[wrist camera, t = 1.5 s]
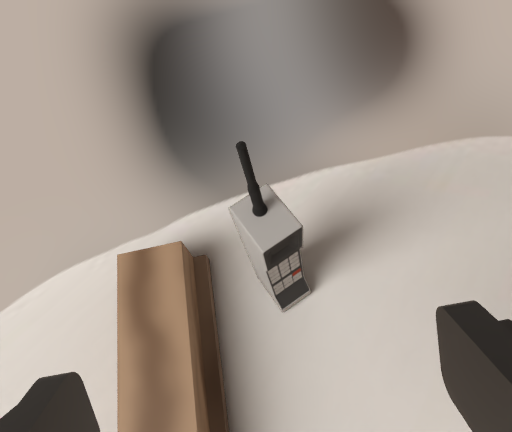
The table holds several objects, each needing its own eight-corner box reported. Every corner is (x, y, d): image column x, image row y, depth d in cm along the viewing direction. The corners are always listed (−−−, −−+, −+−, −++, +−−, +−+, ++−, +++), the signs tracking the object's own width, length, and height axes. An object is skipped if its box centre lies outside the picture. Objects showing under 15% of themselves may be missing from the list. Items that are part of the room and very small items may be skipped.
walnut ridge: (209, 259, 50) (195, 238, 44) (234, 476, 39) (219, 482, 34) (127, 276, 50) (103, 257, 45) (130, 496, 40) (99, 504, 34)
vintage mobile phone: (283, 313, 45) (241, 195, 24) (257, 278, 48) (198, 140, 26) (311, 293, 46) (296, 160, 24) (284, 259, 48) (249, 109, 26)
